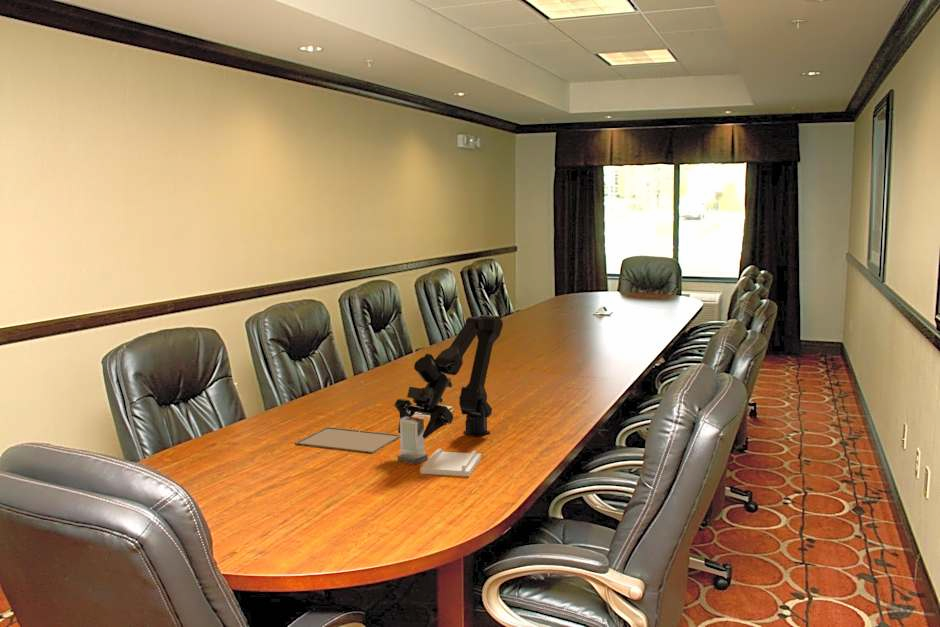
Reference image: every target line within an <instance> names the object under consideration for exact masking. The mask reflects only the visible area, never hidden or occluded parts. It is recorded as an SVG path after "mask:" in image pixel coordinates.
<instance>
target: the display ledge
mask: <svg viewBox="0 0 940 627" xmlns="http://www.w3.org/2000/svg"><path fill="white" fill-rule="evenodd" d="M442 450H443V449H442V448H437V450H435V451H434V452H433V453H432V454H431V456H429V457H428V459H427V460H425V461H424V464H423V465H422V466H420V468H419V469H420V470H419V471H420V473H419V474H423V475H435V476H436V475H438V476H439V475H440V476H453V477H454V476H456V477H467V476H469V477H470V476H471V475H470V474H473V472H474V470H475V469H476V467H477V466H478V464H479V463H480V462H481V460H482V453H477V450H475V449H474V450H472V451H471V452H457V451H454V452H453V451H442ZM476 465H477V466H476ZM474 468H475V469H474ZM472 471H473V472H472Z"/></svg>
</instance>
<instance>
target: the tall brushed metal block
mask: <svg viewBox="0 0 940 627" xmlns="http://www.w3.org/2000/svg"><path fill="white" fill-rule="evenodd" d="M399 420H400V433H399V435H400V438H399V440H400V454H399V455H397V462H400V461H402V462H401V463H404V462H406V464H409V465H413V464H414V466H415V464H416V465H418V464H420V463H422V461H423V462H425V461H427V460H428V459H429V457H428V453H425V438H423V433H424V431H425V426H424V424H425V423H424V422H425V420H424V418H420V417H419V418H418V417H413V416H411V417H408V416H406V417H403V418H400V417H399ZM424 460H425V461H424Z"/></svg>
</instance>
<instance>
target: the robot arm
mask: <svg viewBox="0 0 940 627" xmlns="http://www.w3.org/2000/svg"><path fill="white" fill-rule="evenodd" d="M503 324H504V323H503V320H502V319H501V317H500V316H499V315H490V314H489V315H488V314H481V315H479V316H478V317H475V316H469V317H467V318H466V319H465V323H464V325H463V326H462V328H461V330H460V331H459V333H458V334H457V335H456V336H455V338H454V340H453V341H452V343H451V345H450V346H448V348H446V349H444V350H442V351H441V352H440V353H439V354H438V355H437V356H436V358H434V356H433V355H432V353H431V354H430V353H425V355H424V356H423V357H420V358H419V359H417V360H416V361H415V362H414V365H413V368H414V370H415V372H416V373H417V374H418V375H419V377H420V378H421V380H422V381H424V382H425V383H426V385H425V386H424V387H421V388H420V387H413V386H409V387H408V391H407V395H406V398H410V399H412V402H413V403H414V404H413V403H412V402H411V401H410V399H405V398H398V399H396V401H395V403H394V404H393V406H394V407H395V408H396V410H397V411H398V412H399V419H398V420H399V421H398V430H397V432H398V433H399V434H400V418H403V417H406V416H408V417H413V416H414V415H415V414H417V413H418V414H423V415H424V414H425V415H428V416H430V417H429V421H428V423H427V425H426V427H425V428H424V433H423V438H424V439H426V438H428V437H429V436H430V435H432V434H433V433H434V432H436V431H437V430H439V429H440V428H442V427H443V426H447V424H448V425H451V424H452V422H453V420H454V414H453V412H451V410H450V409H449V408H448V406H446V405H441V404H442V403H443V398H442V397H443V396H444V393H445V391H446V389H447V388H452V387H453V384H452V380H451V378H449V377H448V376H457V374H458V373H459V371H460V370H461V368H462V365H463V364H464V360H463V357H464V355H465V353H466V352H467V351H468V349H469V347H470V346H471V344H472V342H473V341H474V339H475V338H476V337H477V345H476V350H475V353H474V358H473V364H472V368H471V374H470V379H469V382H468V384H467V385H466V386H463V387H461V390H460V395H459V397H458V399H459V408H460V410H461V415H465V417H466V418H465V419H466V420H465V430H464V431H463V434H467V435H469V436H472V437H480V436H484V435H488V434H491V430H488V418H489V417H490V416H492V413H493V411H492V410H493V408H492V406H491V405H490V404H489V403H488V401H487V400H488V394H487V391H486V388H485V384H486V379H487V375H488V369H489V364H490V360H491V356H492V355H491V354H492V350H493V346H494V343H495V342H496V341H497V340H498V338H499V337H500V336H501V333H502V330H503V326H504V325H503ZM447 375H448V376H447ZM439 403H441V404H439ZM415 404H416V405H415Z"/></svg>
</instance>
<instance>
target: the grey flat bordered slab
mask: <svg viewBox="0 0 940 627" xmlns="http://www.w3.org/2000/svg"><path fill="white" fill-rule="evenodd" d="M359 431H360V432H359ZM399 437H400V434H398V433H396V434H395V433H387V432H377V431H368V430H359V429H350V428H341V427H332V426H331V427H330V426H326V427H325V428H321V429H320V430H318V431H316V432H314V433H312V434H310V435H308V436H306V437H304V438H301V439H299V440H297V441H296V442H294V445H295V444H301V445H300V446H303V445H308V446H307V447H311V446H316V447H315V448H320V447H325V448H324V449H328V448H333V449H332V450H337V449H343V450H342V451H345V450H352V451H351V452H354V451H361V452H360V453H362V452H368V453H367V454H371V453H374V452H375V453H377V452H378V451H377V450H379V449H380V448H382V447H384V446H385V445H387V444H389V443H390V444H392V443H393V442H392V441H394V440H395V441H397V440H398V439H397V438H399ZM396 439H397V440H396ZM399 439H400V438H399ZM395 441H394V442H395ZM391 442H392V443H391ZM390 444H389V445H390ZM387 446H388V445H387ZM385 447H386V446H385ZM385 447H384V448H385ZM382 449H383V448H382ZM380 450H381V449H380ZM380 450H379V451H380ZM376 451H377V452H376ZM375 453H374V454H375Z"/></svg>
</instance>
